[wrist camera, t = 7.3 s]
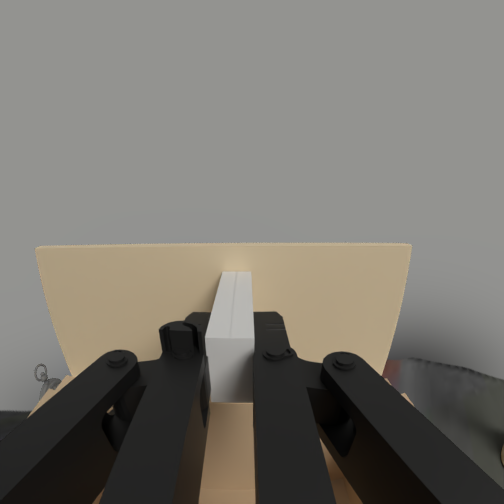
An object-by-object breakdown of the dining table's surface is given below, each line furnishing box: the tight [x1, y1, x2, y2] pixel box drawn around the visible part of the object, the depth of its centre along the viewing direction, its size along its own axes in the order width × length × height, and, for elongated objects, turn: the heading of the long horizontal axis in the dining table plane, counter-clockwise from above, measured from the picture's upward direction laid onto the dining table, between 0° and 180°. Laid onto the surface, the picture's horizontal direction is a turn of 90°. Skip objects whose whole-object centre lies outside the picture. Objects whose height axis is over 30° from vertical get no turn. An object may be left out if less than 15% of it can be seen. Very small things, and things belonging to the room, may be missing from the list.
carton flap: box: [35, 243, 412, 377], centre depth 16 cm, size 10×23×1 cm
